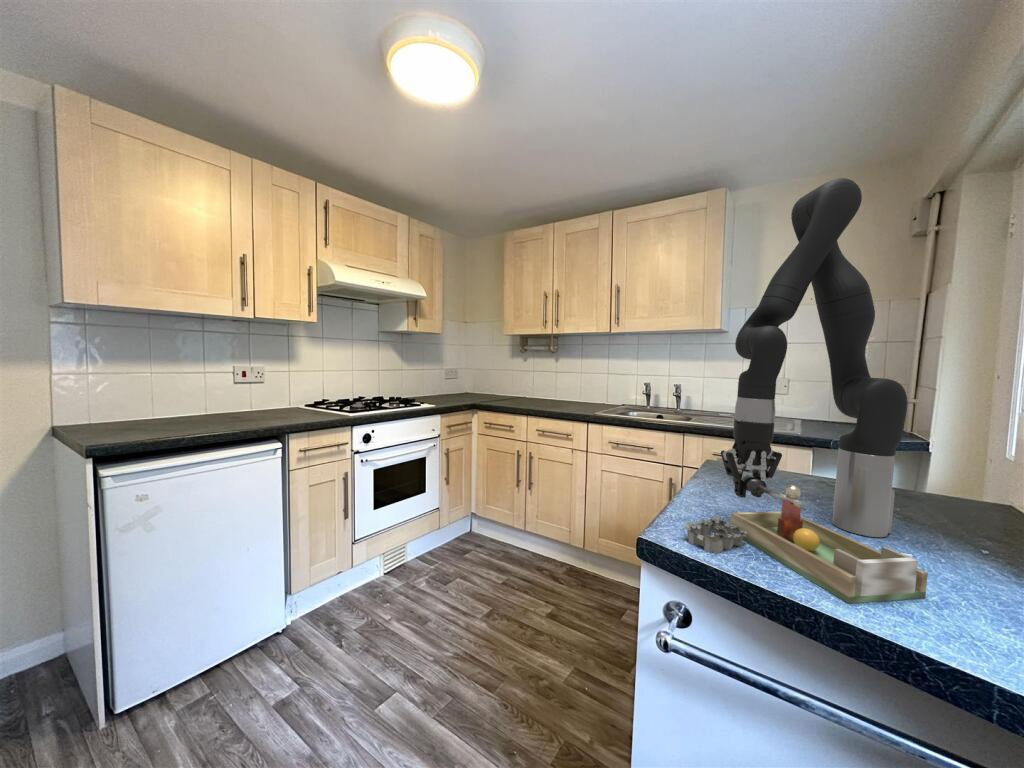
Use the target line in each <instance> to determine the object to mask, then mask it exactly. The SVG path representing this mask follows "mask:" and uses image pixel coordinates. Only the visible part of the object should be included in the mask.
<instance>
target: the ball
mask: <svg viewBox="0 0 1024 768" xmlns="http://www.w3.org/2000/svg"><path fill="white" fill-rule="evenodd" d="M793 541H794V543H795V544H796V545H797V546H799V547H801V548H803V549H805V550H806V551H814V550H816V549H817V548H818V547H819V545H820V540H819V537H818V536H817V534H816V533H815V532H813V531H812V530H810V529H806V528H801V529H798V530H796V531H795V532H794V534H793Z"/></svg>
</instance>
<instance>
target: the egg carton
mask: <svg viewBox="0 0 1024 768" xmlns="http://www.w3.org/2000/svg"><path fill="white" fill-rule="evenodd" d="M684 530H686V531H687V535H686V536H687V537H686V538H687V540H688V543H689V544H690V545H695V546H696V545H698V546H701V547H703V548H704V551H706V552H708V553H716V554H722V553H723V550H724V549H725V550H729V551H731V550H732V549H733V548H734V547H733V546H737V547H743V546H744V542H743V541H744V540H743V538H744V536H745V537H746V533H747V531H746V530H745V531H744V532H743V531H741V530H740V529H739V526H734V525H733V524H732V523H730V521H728V520H723V519H722V518H721V517H719V516H718V515H714V516H713V517H711V518H706V519H704V518H702V519H700V520H698V521H695V522H690V521H688V522H686V523H685V526H684ZM712 533H713V535H712Z"/></svg>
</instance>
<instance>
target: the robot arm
mask: <svg viewBox="0 0 1024 768" xmlns="http://www.w3.org/2000/svg"><path fill="white" fill-rule="evenodd" d="M862 195H863V194H862V190H861V187H860V186H859V185H858V184H857V183H856V182H855V180H853V179H849V178H846V177H839V178H835V179H831V180H829V181H827V182H825V183H823V184H821V185H819V186H818V187H816V188H814V189H813V190H811V191H809V192H808V193H806V194H805V195H803V196H802V197H800V198H799V199H798V200H796V202H795V203H794V205H793V207H792V209H791V217H790V218H791V223H792V227H793V230H794V233H795V236H796V239H797V242H798V244H796V246H795V247H794V248H793V250H792V251H791V252H790V254H789V255H788V256H787V258H786V259H785V260H784V261H783V263H781V265H780V266H779V268H777V270H776V271H775V272H774V274H773V276H772V277H771V279H770V281H769V283H768V284H767V287H766V289H765V291H764V292H763V295H762V297H761V299H760V302H759V304H758V305H757V307H756V308H755V310H753V312H752V313H751V314H750V316H749V317H748V318H747V320H746V321H745V322H744V323H743V325H742V327H741V328H740V329H739V330H738V333H737V335H736V338H735V343H734V345H735V346H734V347H735V351H736V353H737V354H738V355H739V356H740V357H741V358H743V359H745V360H746V359H747V360H750V361H749V365H748V368H747V369H746V370H745V371H742V372H741V373H740V374H739V376H738V382H737V384H738V385H737V396H736V397H737V398H736V402H735V406H734V407H735V408H734V417H733V418H734V419H733V431H732V432H733V433H732V436H733V438H734V442H733V445H732V447H731V448H730V449H728V450H725V449H724V450H723V449H722V450H720V457H721V459H722V463H723V466H724V469H725V473H726V475H727V476H729V477H732V478H733V477H734V478H735V484H734V490H733V491H734V493H735V495H736V496H737V497H740V499H741V498H742V499H745V498H746V496H747V490H746V485H747V481H746V479H747V475H748V474H749V472H752V477H754V478H757V479H759V480H762V481H764V482H765V481H766V479H772V478H773V477H774V475H775V473H776V471H777V469H778V466H779V464H780V461H781V460H782V457H783V454H782V453H781V452H779V451H775V450H773V449H772V446H771V443H773V441H774V436H775V435H774V433H775V422H776V402H775V401H776V389H777V379H778V377H779V374H780V373H781V369H782V367H783V364H784V362H785V358H786V355H787V351H788V340H787V337H786V333H785V332H784V331H783V330H782V329H781V328H780V326H781V325H782V324H784V323H785V322H788V321H790V320H791V319H793V317H794V316H795V314H796V313H797V311H798V308H799V306H800V305H801V303H802V301H803V298H804V297H805V295H806V292H807V290H808V288H809V286H810V284H811V287H812V291H813V295H814V301H815V304H816V310H817V314H818V318H819V322H820V326H821V328H822V331H823V332H822V333H823V336H824V341H825V342H824V343H825V346H826V350H827V354H828V361H829V367H830V377H831V386H832V395H833V396H832V397H833V400H834V404H835V406H836V408H837V409H838V410H839V412H840V413H842V414H843V415H844V416H847V417H850V418H852V419H853V418H854V419H856V423H855V427H854V429H853V430H852V431H851V432H849V433H845V434H843V435H841V436H840V437H839V438H838V439H839V440H838V451H837V463H836V474H835V475H836V476H835V486H834V497H833V508H832V519H831V523H832V525H834V526H836V527H837V528H838V529H841V530H844V531H846V532H848V533H849V532H850V533H852V534H856V535H860V536H863V537H864V536H865V537H869V538H870V537H871V538H886V537H887V536H888V533H891V534H892V526H893V516H894V505H895V494H896V491H895V489H893V485H894V484H893V480H894V472H895V461H896V451H897V448H898V446H899V445H900V443H901V442H902V440H903V435H904V430H905V424H906V417H907V412H908V396H907V395H908V394H907V391H906V390H905V388H904V386H903V385H902V384H901V383H900V382H898V381H896V380H894V379H889V378H884V377H883V378H882V377H880V378H879V377H871V375H870V372H869V368H868V364H867V359H866V348H867V344H868V341H869V338H870V336H871V333H872V330H873V326H874V324H875V318H876V310H875V304H874V301H873V295H872V291H871V288H870V284H869V283H868V281H867V279H866V278H865V277H864V275H863V274H862V273H861V272H860V271H859V270H858V269H857V268H856V267H855V266H854V265H853V264H852V263H851V262H850V261H849V260H848V259H847V258H846V257H845V256H844V254H843V252H842V251H841V248H840V245H839V242H838V240H839V238H840V237H841V236H842V234H843V232H844V231H845V230H846V228H847V227H848V226H849V224H850V223H851V221H852V220H853V219H854V217H855V216H856V215H857V213H858V211H859V209H860V207H861V205H862V204H861V203H862V200H863V199H862V198H863V196H862ZM750 494H751V496H753V497H755V498H761V497H762V495H756V494H754V493H752V492H750Z"/></svg>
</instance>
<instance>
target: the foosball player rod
mask: <svg viewBox="0 0 1024 768" xmlns="http://www.w3.org/2000/svg"><path fill="white" fill-rule="evenodd" d="M746 481H747V485H746V492H749V493H751V492H752V493H754V494H756V495H761V496H762V495H763V494H766V495H769V496H771V497H773V498H776V499H777V500H778V499H779V500H780V501H782V506H781V511H782V515H781V518H778V529H777V535H778V536H780V537H782V538H784V539H786V540H788V541H793V534H794V532H795V531H796V530H798V529H801V528H802V526H803V520H801V519H800V516H801V514H802V513H801V512H802V508H804V506H805V503H804V502H803V501H801V500H799V498H800V497H801V495H802V490H801V489H800V488H799V487H798V486H797V485H794V484H789V485H787V486H785V488H784V494H783V493H781V492H779V491H777V490H773V489H772V488H769V487H767V483H766V482H765V481H762V480H759V479H757V478H754V477H753V476H752V475H747V479H746ZM732 482H733V485H735V478H734V477H732Z"/></svg>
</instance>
